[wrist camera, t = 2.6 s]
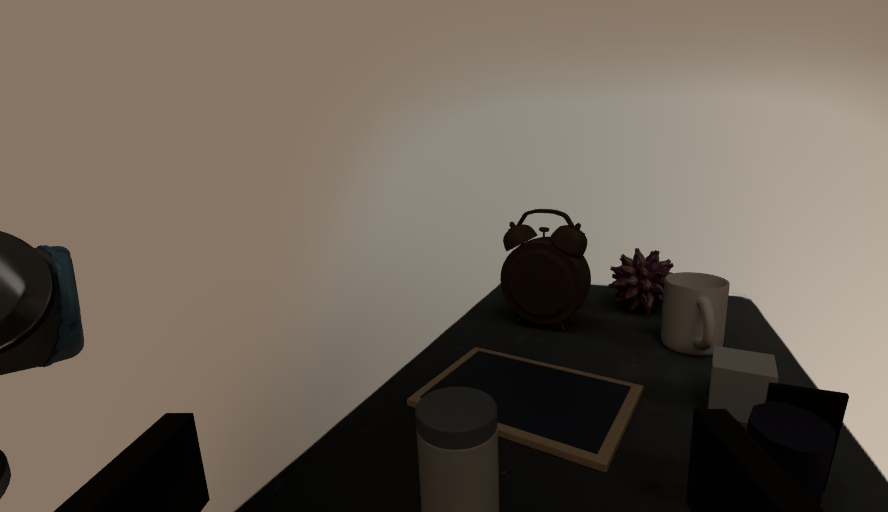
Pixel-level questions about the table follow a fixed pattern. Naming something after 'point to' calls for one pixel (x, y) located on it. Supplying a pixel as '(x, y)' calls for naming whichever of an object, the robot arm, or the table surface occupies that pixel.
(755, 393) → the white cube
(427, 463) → the grey-capped cream cylinder
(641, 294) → the flower
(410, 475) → the table surface
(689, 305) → the mug
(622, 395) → the picture frame
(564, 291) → the alarm clock
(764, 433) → the speaker
